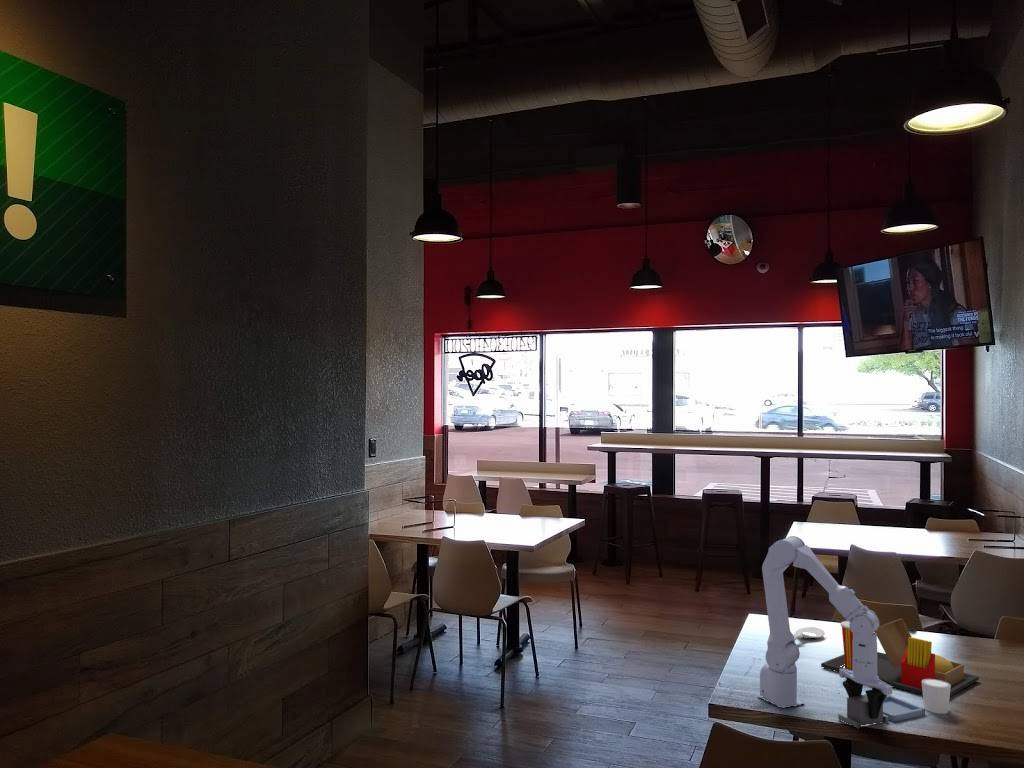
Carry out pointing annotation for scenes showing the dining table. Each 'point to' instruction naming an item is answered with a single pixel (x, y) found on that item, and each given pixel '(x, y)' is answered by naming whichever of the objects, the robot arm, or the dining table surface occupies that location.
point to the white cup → (936, 695)
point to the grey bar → (862, 710)
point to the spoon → (814, 630)
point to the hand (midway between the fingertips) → (865, 714)
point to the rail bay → (855, 722)
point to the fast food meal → (904, 660)
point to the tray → (900, 709)
